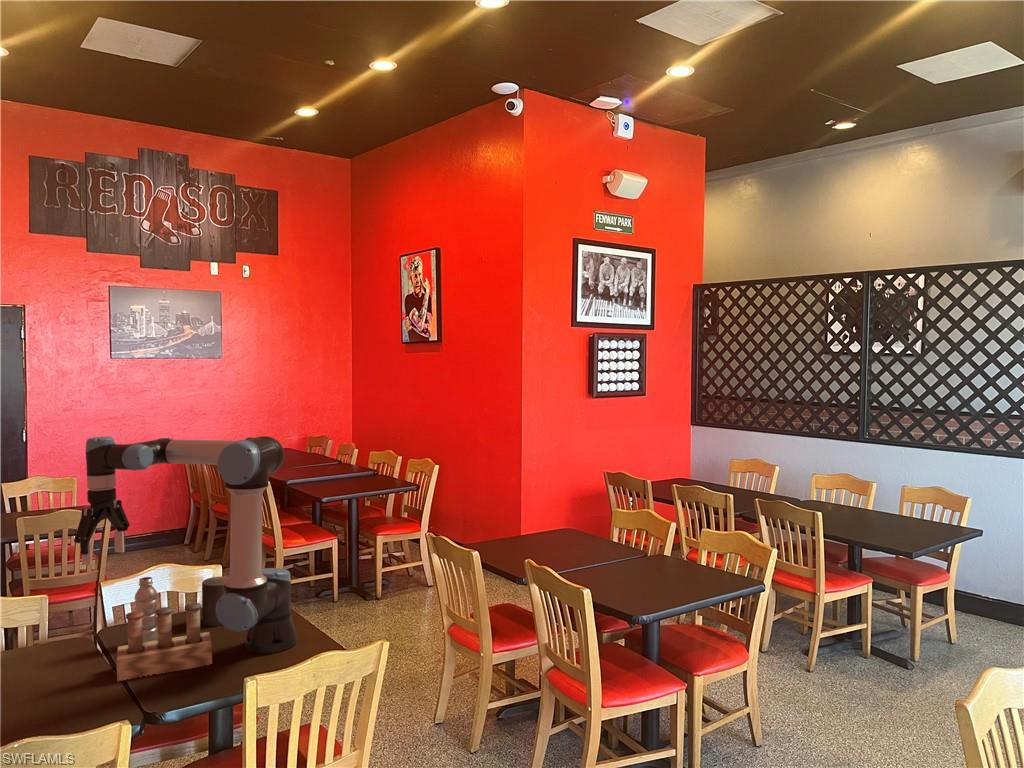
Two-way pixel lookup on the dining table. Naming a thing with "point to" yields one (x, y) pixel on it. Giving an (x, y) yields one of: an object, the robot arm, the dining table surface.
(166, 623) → the plug middle
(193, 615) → the plug left
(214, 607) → the pillar candle
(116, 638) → the dining table surface
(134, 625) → the plug terracotta
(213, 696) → the dining table surface
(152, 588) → the plastic bottle
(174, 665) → the socket block
